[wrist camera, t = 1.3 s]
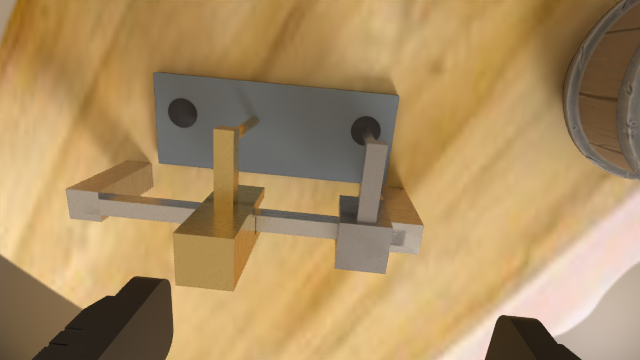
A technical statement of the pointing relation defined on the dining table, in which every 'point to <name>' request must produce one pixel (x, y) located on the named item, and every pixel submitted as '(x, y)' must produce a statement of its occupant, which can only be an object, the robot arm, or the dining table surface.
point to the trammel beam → (276, 211)
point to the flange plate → (271, 125)
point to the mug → (607, 92)
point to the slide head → (220, 221)
